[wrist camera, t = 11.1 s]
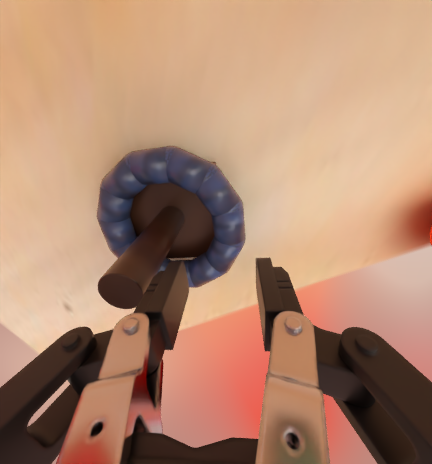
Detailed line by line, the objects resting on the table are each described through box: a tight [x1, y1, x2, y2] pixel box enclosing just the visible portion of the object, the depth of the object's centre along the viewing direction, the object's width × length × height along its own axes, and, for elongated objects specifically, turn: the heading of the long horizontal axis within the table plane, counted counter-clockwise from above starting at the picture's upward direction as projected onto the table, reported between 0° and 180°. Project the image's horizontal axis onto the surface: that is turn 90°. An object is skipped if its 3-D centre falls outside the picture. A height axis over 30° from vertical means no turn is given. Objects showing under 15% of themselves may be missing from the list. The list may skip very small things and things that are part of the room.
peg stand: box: [98, 162, 216, 309], centre depth 16 cm, size 9×9×12 cm
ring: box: [97, 146, 245, 287], centre depth 18 cm, size 13×13×3 cm
